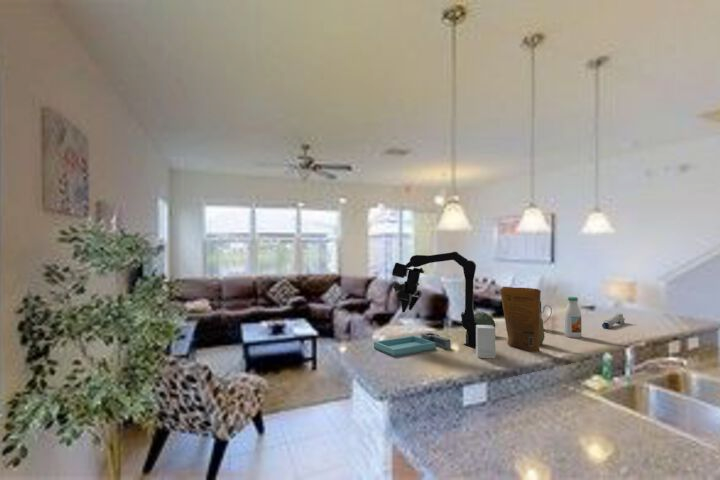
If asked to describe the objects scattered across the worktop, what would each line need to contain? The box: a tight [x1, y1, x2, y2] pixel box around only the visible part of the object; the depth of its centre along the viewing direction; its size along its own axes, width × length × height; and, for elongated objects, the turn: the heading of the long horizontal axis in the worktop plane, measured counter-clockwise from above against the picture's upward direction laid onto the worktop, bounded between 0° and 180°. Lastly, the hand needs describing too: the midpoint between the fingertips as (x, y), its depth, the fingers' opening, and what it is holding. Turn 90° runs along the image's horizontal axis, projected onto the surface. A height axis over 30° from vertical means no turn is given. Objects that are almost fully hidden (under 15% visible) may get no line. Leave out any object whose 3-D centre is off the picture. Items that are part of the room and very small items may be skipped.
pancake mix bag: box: [499, 286, 542, 353], centre depth 191 cm, size 7×19×28 cm, turn 36°
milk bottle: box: [563, 296, 582, 339], centre depth 213 cm, size 8×8×20 cm
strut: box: [420, 332, 451, 350], centre depth 198 cm, size 16×6×4 cm, turn 30°
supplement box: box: [475, 325, 496, 359], centre depth 179 cm, size 7×7×13 cm
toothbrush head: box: [601, 312, 626, 330], centre depth 238 cm, size 5×7×25 cm
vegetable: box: [474, 311, 496, 329], centre depth 220 cm, size 12×13×15 cm
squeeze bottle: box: [538, 314, 546, 346], centre depth 198 cm, size 8×8×18 cm
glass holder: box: [540, 300, 553, 324], centre depth 230 cm, size 9×14×15 cm, turn 43°
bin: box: [373, 335, 437, 357], centre depth 191 cm, size 16×23×3 cm
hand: (406, 311), depth 206 cm, fingers open, 9 cm apart
